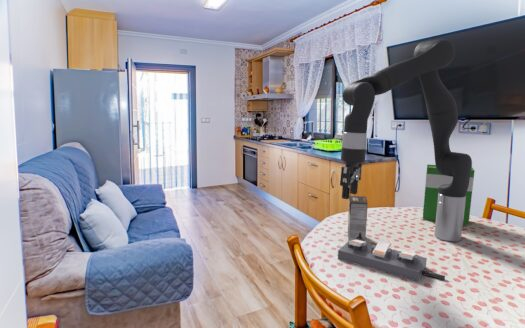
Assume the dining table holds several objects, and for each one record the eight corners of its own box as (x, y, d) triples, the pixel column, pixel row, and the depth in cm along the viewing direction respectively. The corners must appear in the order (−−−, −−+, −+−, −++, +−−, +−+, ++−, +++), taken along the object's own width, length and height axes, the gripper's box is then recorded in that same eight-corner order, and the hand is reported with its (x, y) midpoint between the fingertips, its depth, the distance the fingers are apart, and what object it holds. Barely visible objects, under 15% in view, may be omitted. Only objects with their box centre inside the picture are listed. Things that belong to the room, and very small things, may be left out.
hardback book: (422, 219, 150) (427, 167, 146) (422, 214, 157) (427, 164, 153) (468, 225, 143) (474, 170, 138) (466, 220, 149) (472, 167, 145)
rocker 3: (404, 254, 107) (404, 250, 107) (416, 257, 105) (416, 253, 105) (398, 256, 101) (399, 253, 101) (411, 259, 99) (412, 256, 99)
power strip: (350, 247, 120) (350, 234, 119) (447, 272, 102) (448, 257, 102) (337, 258, 112) (338, 244, 111) (441, 288, 94) (443, 271, 93)
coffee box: (347, 234, 133) (348, 195, 130) (363, 235, 132) (365, 196, 129) (348, 243, 124) (350, 201, 121) (366, 244, 123) (368, 202, 120)
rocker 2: (379, 242, 112) (379, 240, 111) (390, 245, 110) (390, 242, 109) (372, 254, 107) (372, 251, 106) (384, 257, 104) (384, 254, 104)
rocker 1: (355, 242, 116) (356, 239, 116) (365, 244, 114) (366, 241, 114) (348, 244, 111) (349, 240, 111) (359, 246, 109) (359, 243, 109)
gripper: (359, 149, 98) (354, 202, 101) (371, 146, 110) (367, 194, 113) (334, 147, 102) (330, 198, 105) (349, 144, 114) (345, 190, 117)
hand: (349, 196), depth 109 cm, fingers open, 8 cm apart
